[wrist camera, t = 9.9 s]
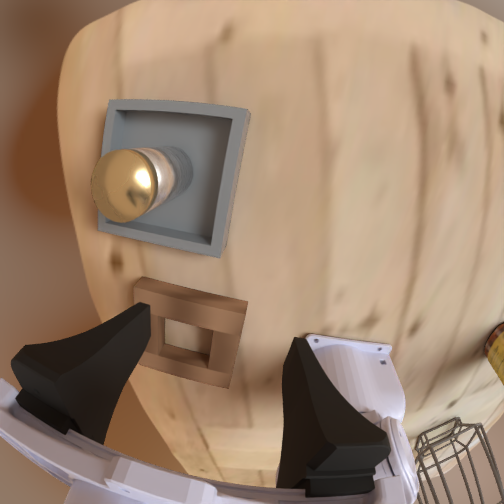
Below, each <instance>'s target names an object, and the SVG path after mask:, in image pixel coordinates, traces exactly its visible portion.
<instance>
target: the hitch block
mask: <svg viewBox="0 0 504 504" xmlns="http://www.w3.org/2000/svg"><path fill="white" fill-rule="evenodd" d="M133 292H134V305H135V304H137V303H139V302H142V303H145V304H149V305H150V310H151V337H150V339H149V342H148V344H147V347H146V349H145V351H144V353H143V355H142V356H141V358H140V360H139V361H138V363H139V364H140V365H143V366H146V367H149V368H152V369H155V370H158V371H161V372H165V373H168V374H171V375H175V376H178V377H182V378H186V379H189V380H193V381H197V382H201V383H205V384H209V385H213V386H218V387H222V388H227V389H229V385H230V381H231V377H232V372H233V368H234V364H235V359H236V355H237V350H238V346H239V342H240V337H241V333H242V328H243V324H244V320H245V315H246V310H247V305H248V302H247V301H242V300H238V299H233V298H229V297H224V296H220V295H215V294H211V293H207V292H202V291H198V290H194V289H190V288H186V287H182V286H178V285H174V284H170V283H166V282H162V281H158V280H154V279H150V278H147V277H142V278H141V279H140V280H139V281H138V282H137V283H136V284H135V285H134V286H133ZM165 318H168V319H171V320H175V321H179V322H182V323H186V324H190V325H194V326H198V327H202V328H206V329H210V330H214V331H213V338H212V345H211V351H210V355H206V354H202V353H198V352H194V351H190V350H186V349H182V348H179V347H175V346H172V345H168V344H165Z"/></svg>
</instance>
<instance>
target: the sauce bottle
mask: <svg viewBox="0 0 504 504" xmlns="http://www.w3.org/2000/svg"><path fill="white" fill-rule="evenodd" d="M484 352H485V355H486V356H487V358H488V361H489V363H490V364H491V366H492V367H493V369H494V370H495V372H496V373H497V375H498V377H499V378H500V380H501V382H502V383H503V385H504V324H501V325H499V326H498V327H497V328H496V330H495V331H494V332H493V333H492V334H491V336H490V338H489V339H488V341H487V343H486V346H485V350H484Z"/></svg>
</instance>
